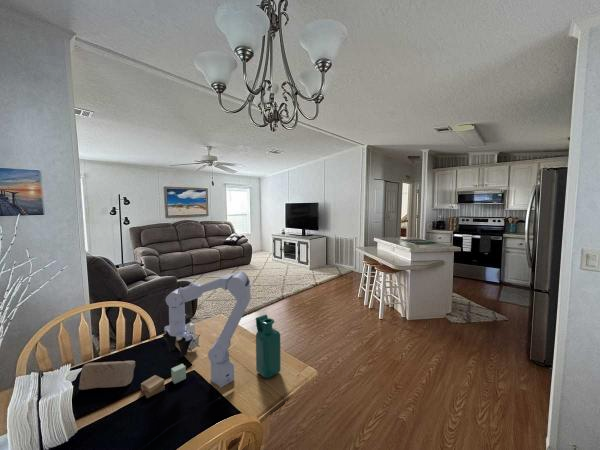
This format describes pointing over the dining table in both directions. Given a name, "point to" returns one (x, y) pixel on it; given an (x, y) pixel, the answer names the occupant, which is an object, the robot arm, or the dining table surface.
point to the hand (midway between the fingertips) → (178, 352)
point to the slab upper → (152, 384)
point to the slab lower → (154, 391)
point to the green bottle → (267, 347)
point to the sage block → (178, 373)
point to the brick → (106, 374)
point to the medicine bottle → (188, 326)
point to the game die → (194, 342)
